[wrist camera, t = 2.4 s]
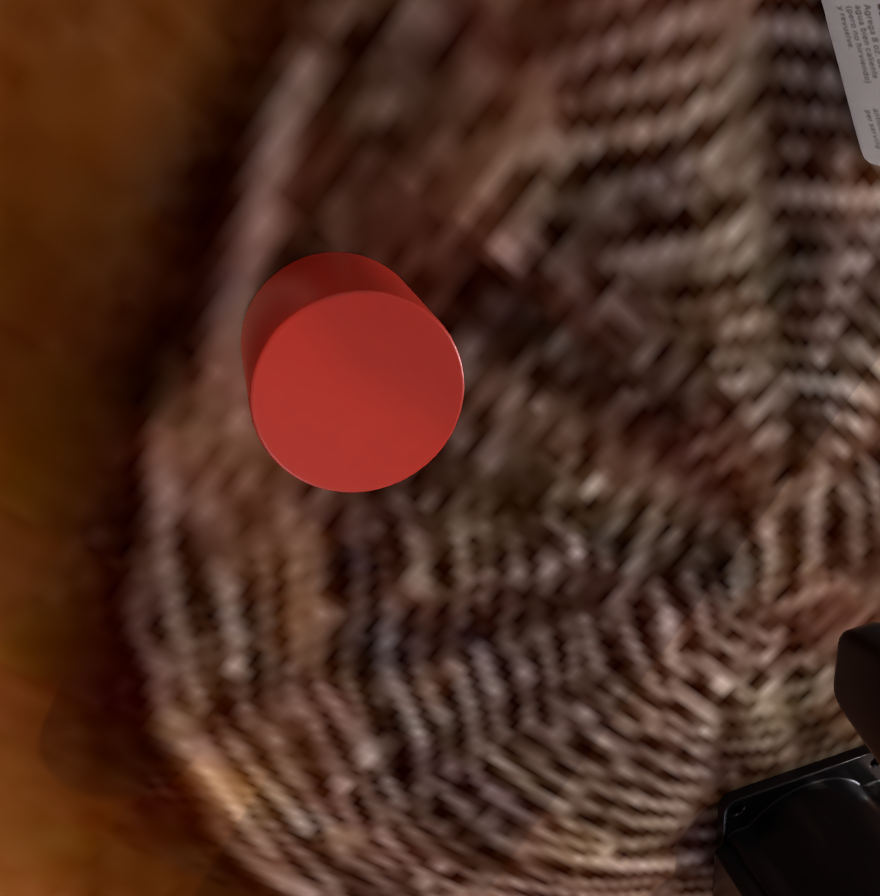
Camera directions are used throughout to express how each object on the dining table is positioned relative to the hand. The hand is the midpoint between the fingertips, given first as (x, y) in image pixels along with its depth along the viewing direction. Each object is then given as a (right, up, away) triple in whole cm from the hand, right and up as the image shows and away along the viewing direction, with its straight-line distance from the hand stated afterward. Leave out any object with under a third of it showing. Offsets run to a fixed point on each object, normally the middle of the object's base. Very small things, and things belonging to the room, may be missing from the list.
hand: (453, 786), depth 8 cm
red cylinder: (-2, +6, +9) cm, 11 cm away
